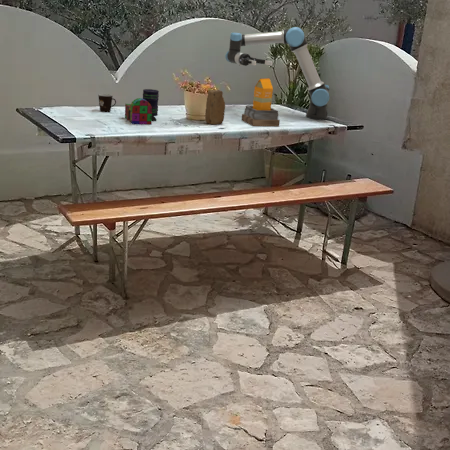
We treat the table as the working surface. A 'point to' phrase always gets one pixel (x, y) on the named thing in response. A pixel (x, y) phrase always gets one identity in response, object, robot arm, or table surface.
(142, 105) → the multicoloured round-topped piece
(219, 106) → the block
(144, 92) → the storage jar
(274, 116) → the grey square tray
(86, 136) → the table surface
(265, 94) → the orange juice
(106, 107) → the coffee mug
